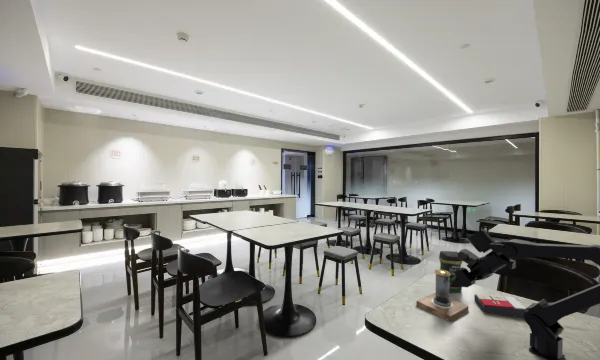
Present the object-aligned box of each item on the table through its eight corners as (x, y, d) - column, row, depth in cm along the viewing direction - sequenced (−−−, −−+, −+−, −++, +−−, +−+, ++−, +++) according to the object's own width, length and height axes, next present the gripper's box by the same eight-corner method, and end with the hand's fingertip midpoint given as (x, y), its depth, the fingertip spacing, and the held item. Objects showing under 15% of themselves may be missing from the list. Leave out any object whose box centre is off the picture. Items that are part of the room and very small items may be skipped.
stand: (468, 310, 104) (468, 305, 104) (450, 321, 96) (450, 315, 96) (434, 297, 116) (434, 292, 116) (416, 305, 108) (416, 300, 108)
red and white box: (473, 292, 113) (514, 295, 109) (474, 302, 113) (514, 305, 109) (483, 304, 103) (528, 308, 98) (484, 315, 103) (529, 319, 98)
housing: (454, 307, 103) (454, 275, 103) (438, 306, 103) (438, 275, 103) (445, 299, 109) (445, 269, 109) (430, 299, 109) (430, 269, 109)
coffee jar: (443, 292, 120) (444, 253, 120) (436, 285, 128) (436, 248, 128) (465, 293, 119) (465, 254, 119) (456, 286, 127) (456, 249, 127)
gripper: (483, 240, 101) (454, 260, 111) (460, 247, 91) (430, 269, 101) (507, 266, 95) (474, 285, 104) (485, 276, 85) (450, 296, 94)
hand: (457, 283), depth 101 cm, fingers open, 9 cm apart
